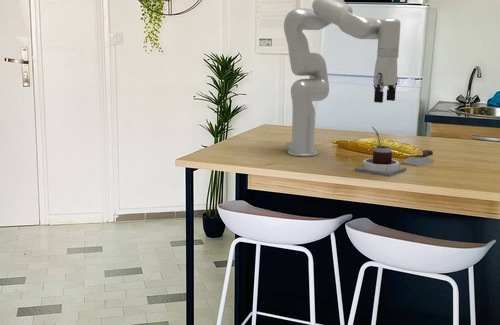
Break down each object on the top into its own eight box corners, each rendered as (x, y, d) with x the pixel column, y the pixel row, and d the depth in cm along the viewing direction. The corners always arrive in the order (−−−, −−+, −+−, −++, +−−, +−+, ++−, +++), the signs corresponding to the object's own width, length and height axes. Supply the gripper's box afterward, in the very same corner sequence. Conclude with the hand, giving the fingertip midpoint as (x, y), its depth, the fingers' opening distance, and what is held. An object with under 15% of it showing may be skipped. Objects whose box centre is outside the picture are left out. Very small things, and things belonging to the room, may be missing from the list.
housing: (354, 170, 224) (355, 161, 223) (372, 165, 235) (373, 156, 234) (389, 176, 215) (389, 167, 215) (406, 170, 226) (406, 161, 225)
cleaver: (420, 153, 262) (420, 148, 261) (443, 156, 257) (443, 151, 256) (398, 165, 237) (399, 160, 237) (423, 168, 232) (423, 163, 232)
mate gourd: (391, 170, 220) (394, 130, 217) (369, 169, 222) (371, 129, 219) (390, 166, 228) (393, 127, 225) (369, 165, 229) (371, 126, 226)
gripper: (389, 53, 225) (386, 99, 229) (366, 53, 212) (364, 102, 215) (407, 54, 220) (404, 100, 224) (386, 54, 207) (383, 104, 211)
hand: (384, 101), depth 220 cm, fingers open, 9 cm apart
